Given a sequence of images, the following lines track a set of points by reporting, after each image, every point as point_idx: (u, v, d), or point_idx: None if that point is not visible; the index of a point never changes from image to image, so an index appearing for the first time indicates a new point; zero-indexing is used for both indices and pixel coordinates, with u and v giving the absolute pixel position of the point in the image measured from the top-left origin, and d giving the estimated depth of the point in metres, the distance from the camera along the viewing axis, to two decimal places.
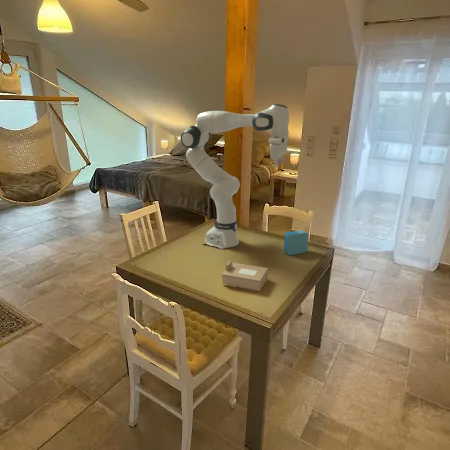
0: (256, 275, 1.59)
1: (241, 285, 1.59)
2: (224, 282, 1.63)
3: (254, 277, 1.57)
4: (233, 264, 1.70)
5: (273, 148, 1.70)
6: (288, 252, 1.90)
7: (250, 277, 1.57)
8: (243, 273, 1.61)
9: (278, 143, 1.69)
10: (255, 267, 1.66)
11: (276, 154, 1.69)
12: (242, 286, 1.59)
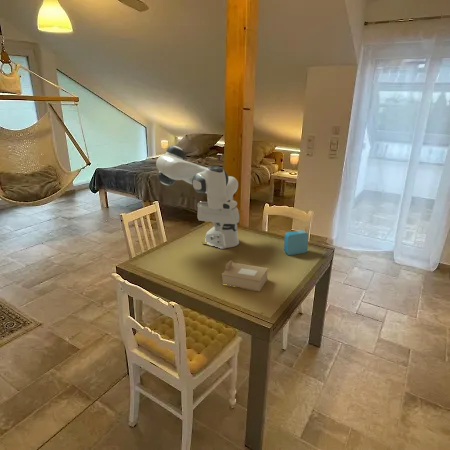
0: (256, 275, 1.59)
1: (241, 285, 1.59)
2: (224, 282, 1.63)
3: (254, 277, 1.57)
4: (233, 264, 1.70)
5: (236, 212, 1.57)
6: (288, 252, 1.90)
7: (250, 277, 1.57)
8: (243, 273, 1.61)
9: None
10: (255, 267, 1.66)
11: (238, 217, 1.59)
12: (242, 286, 1.59)
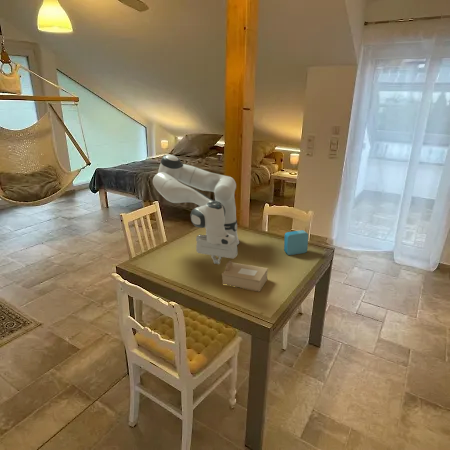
0: (256, 275, 1.59)
1: (241, 285, 1.59)
2: (224, 282, 1.63)
3: (254, 277, 1.57)
4: (233, 264, 1.70)
5: (234, 247, 1.60)
6: (288, 252, 1.90)
7: (250, 277, 1.57)
8: (243, 273, 1.61)
9: (234, 240, 1.62)
10: (255, 267, 1.66)
11: None
12: (242, 286, 1.59)
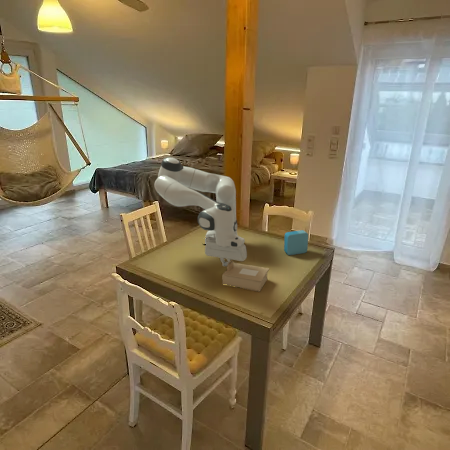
0: (257, 275, 1.59)
1: (241, 285, 1.59)
2: (224, 282, 1.63)
3: (255, 277, 1.57)
4: (234, 264, 1.70)
5: (243, 249, 1.59)
6: (288, 252, 1.90)
7: (251, 277, 1.57)
8: (244, 273, 1.61)
9: None
10: (256, 267, 1.66)
11: (246, 253, 1.61)
12: (242, 286, 1.59)
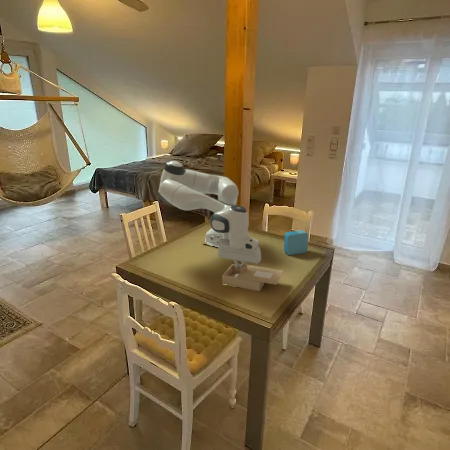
0: (272, 278, 1.56)
1: (241, 285, 1.59)
2: (224, 282, 1.63)
3: (270, 280, 1.55)
4: (248, 266, 1.67)
5: (258, 252, 1.56)
6: (288, 252, 1.90)
7: (266, 280, 1.55)
8: (258, 275, 1.59)
9: None
10: (270, 269, 1.63)
11: (260, 256, 1.58)
12: (242, 286, 1.59)
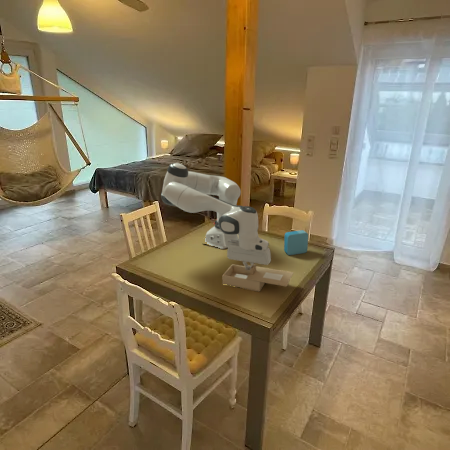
0: (282, 279, 1.54)
1: (241, 285, 1.59)
2: (224, 282, 1.63)
3: (280, 281, 1.53)
4: (257, 268, 1.65)
5: (268, 253, 1.54)
6: (288, 252, 1.90)
7: (276, 282, 1.53)
8: (268, 277, 1.57)
9: (267, 246, 1.56)
10: (280, 271, 1.62)
11: (270, 257, 1.57)
12: (242, 286, 1.59)
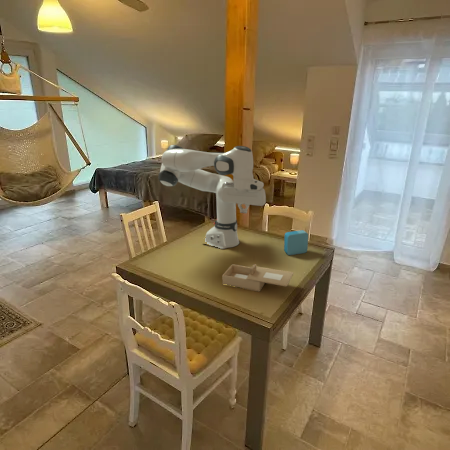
0: (282, 279, 1.54)
1: (241, 285, 1.59)
2: (224, 282, 1.63)
3: (280, 281, 1.53)
4: (257, 268, 1.65)
5: (263, 193, 1.54)
6: (288, 252, 1.90)
7: (276, 282, 1.53)
8: (268, 277, 1.57)
9: (262, 187, 1.55)
10: (280, 271, 1.62)
11: (265, 198, 1.56)
12: (242, 286, 1.59)
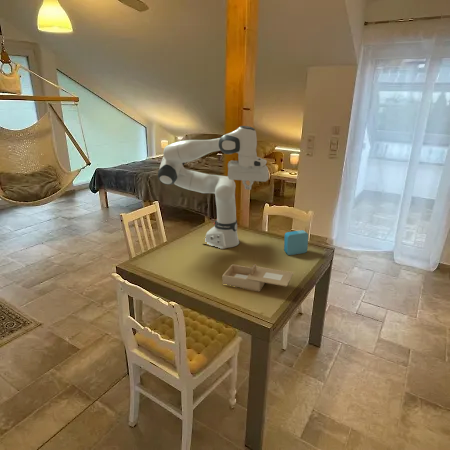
0: (282, 279, 1.54)
1: (241, 285, 1.59)
2: (224, 282, 1.63)
3: (280, 281, 1.53)
4: (257, 268, 1.65)
5: (266, 169, 1.65)
6: (288, 252, 1.90)
7: (276, 282, 1.53)
8: (268, 277, 1.57)
9: (265, 164, 1.67)
10: (280, 271, 1.62)
11: (268, 175, 1.67)
12: (242, 286, 1.59)
